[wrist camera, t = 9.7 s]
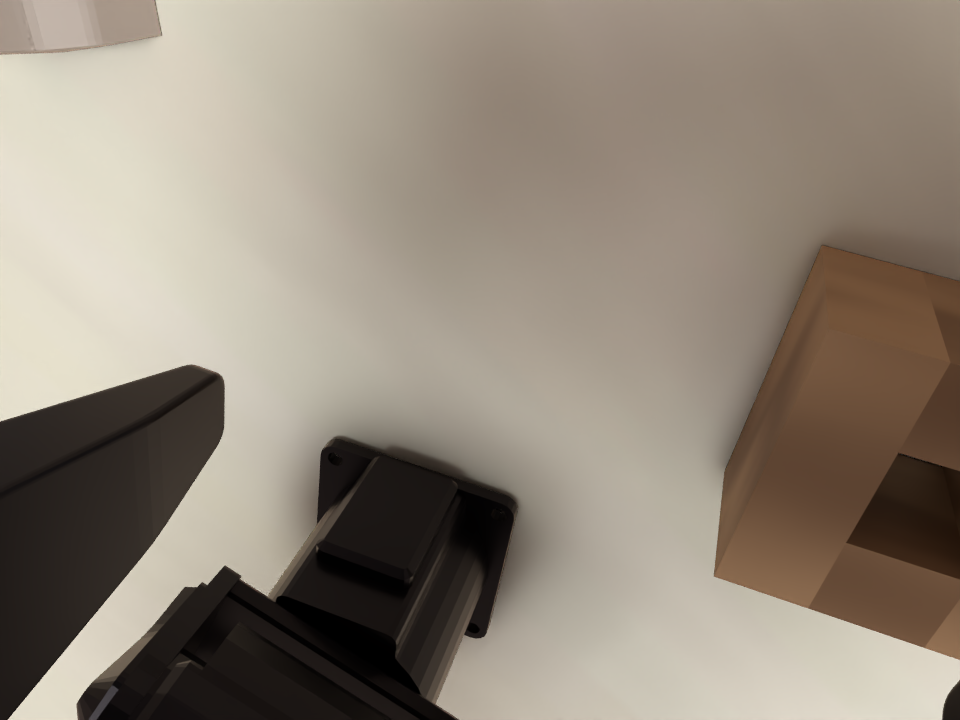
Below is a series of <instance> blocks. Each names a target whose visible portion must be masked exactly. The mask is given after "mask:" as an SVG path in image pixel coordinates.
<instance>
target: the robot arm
mask: <svg viewBox="0 0 960 720" xmlns="http://www.w3.org/2000/svg"><path fill="white" fill-rule="evenodd" d="M224 399H225V385H224V380H223V378H222V376H221V375H220V374H218V373H217V372H214V371H211V370H208V369H205V368H202V367H200V366H197V365H186V366H182V367H179V368H175V369H172V370H169V371H165V372H162V373H159V374H156V375H152V376H149V377H146V378H142V379H139V380H136V381H132V382H129V383H126V384H123V385H119V386H116V387H113V388H109V389H106V390H103V391H100V392H96V393H93V394H90V395H86V396H83V397H80V398H76V399H73V400H70V401H67V402H63V403H60V404H57V405H53V406H50V407H47V408H44V409H40V410H37V411H34V412H30V413H27V414H24V415H20V416H17V417H14V418H11V419H7V420H4V421H1V422H0V720H8V719H9V717H10V716H11V715H12V714H13V712H14V711H15V710H16V709H17V708H18V706H19V705H20V704H21V703H22V702H23V700H24V699H25V698H26V697H27V696H28V694H29V693H30V692H31V691H32V689H33V688H34V687H35V686H36V685H37V683H38V682H39V681H40V680H41V679H42V677H43V676H44V675H45V674H46V673H47V671H48V670H49V669H50V668H51V666H52V665H53V664H54V663H55V662H56V660H57V659H58V658H59V657H60V656H61V654H62V653H63V652H64V651H65V650H66V648H67V647H68V646H69V645H70V643H71V642H72V641H73V640H74V639H75V637H76V636H77V635H78V634H79V633H80V631H81V630H82V629H83V628H84V627H85V625H86V624H87V623H88V622H89V620H90V619H91V618H92V617H93V616H94V614H95V613H96V612H97V611H98V610H99V608H100V607H101V606H102V605H103V604H104V602H105V601H106V600H107V599H108V598H109V596H110V595H111V594H112V593H113V591H114V590H115V589H116V588H117V587H118V585H119V584H120V583H121V582H122V581H123V579H124V578H125V577H126V576H127V575H128V573H129V572H130V571H131V570H132V568H133V567H134V566H135V565H136V564H137V562H138V561H139V560H140V559H141V558H142V556H143V555H144V554H145V552H146V551H147V550H148V549H149V547H150V546H151V545H152V544H153V542H154V541H155V539H156V538H157V537H158V535H159V534H160V532H161V531H162V529H163V528H164V527H165V525H166V524H167V522H168V520H169V519H170V517H171V516H172V514H173V513H174V511H175V510H176V508H177V507H178V505H179V504H180V502H181V501H182V499H183V498H184V496H185V494H186V493H187V491H188V490H189V488H190V487H191V485H192V484H193V482H194V481H195V479H196V478H197V476H198V475H199V473H200V472H201V470H202V468H203V467H204V465H205V464H206V462H207V461H208V459H209V458H210V456H211V455H212V453H213V452H214V450H215V449H216V447H217V445H218V444H219V442H220V439H221V437H222V434H223V430H224ZM335 453H336V454H338V455H339V456H340V457H341V458H340V457H338V456H336V454H335ZM496 509H501V510H502V511H504V512H505V513H501V512H499V511H497V510H496ZM516 516H517V505H516V503H515V502H514V501H513V500H512V499H511V498H510V497H508V496H506V495H503V494H500V493H497V492H494V491H491V490H488V489H485V488H482V487H479V486H476V485H473V484H470V483H468V482H465V481H462V480H459V479H456V478H453V477H450V476H447V475H444V474H441V473H438V472H435V471H432V470H429V469H426V468H423V467H420V466H417V465H414V464H411V463H408V462H405V461H402V460H399V459H396V458H393V457H390V456H387V455H384V454H382V453H379V452H376V451H373V450H370V449H367V448H364V447H361V446H358V445H355V444H352V443H349V442H346V441H343V440H339V439H334V440H331V441H329V442H328V443H327V445H326V446H325V447H324V448H323V450H322V452H321V460H320V479H319V497H318V516H317V526H316V527H315V529H314V530H313V532H312V533H311V534H310V536H309V537H308V539H307V540H306V542H305V543H304V544H303V546H302V547H301V549H300V550H299V552H298V553H297V555H296V556H295V557H294V559H293V560H292V562H291V563H290V565H289V566H288V568H287V569H286V570H285V572H284V573H283V575H282V576H281V578H280V579H279V580H278V582H277V583H276V585H275V586H274V588H273V589H272V591H271V592H270V593H269V595H268V596H266V595H264V594H262V593H261V592H259V591H258V590H256V589H255V588H253V587H251V586H250V585H248V584H247V583H245V582H244V581H242V580H241V579H240V578H241V575H239V574H238V573H236V572H234V571H233V570H231V569H230V568H228V567H227V566H224V567H223V568H222V569H221V570H220V571H219V573H218V574H217V575H216V576H215V577H214V578H213V579H212V581H211V582H210V583H209V584H208V585H206V584H204V583H203V582H202V583H201V584H200V585H199V586H198V587H184V589H183V590H182V591H181V592H180V594H179V595H178V596H177V597H176V598H175V600H174V601H173V602H172V603H171V605H170V606H169V607H168V608H167V610H166V611H165V612H164V613H163V614H162V616H161V617H160V618H159V619H158V620H157V622H156V623H155V624H154V625H153V626H152V627H151V628H150V630H149V631H148V632H147V633H146V634H145V635H144V636H143V637H142V638H141V639H140V640H139V641H138V642H136V643H135V644H134V645H133V646H132V647H131V648H130V649H129V650H128V651H126V652H125V653H124V654H123V655H122V656H121V657H120V658H119V659H118V660H116V661H115V662H114V663H113V664H112V665H111V666H110V667H109V668H108V669H107V670H105V671H104V672H103V673H102V674H101V675H100V676H99V677H98V678H97V679H95V680H94V681H93V682H92V683H91V685H90V686H89V687H88V688H87V689H86V691H85V692H84V693H83V695H82V696H81V698H80V699H79V701H78V703H77V716H78V720H459V719H457V718H456V717H454V716H453V715H451V714H450V713H448V712H446V711H445V710H443V709H442V708H440V707H439V706H437V705H435V704H436V701H437V699H438V697H439V694H440V692H441V689H442V687H443V684H444V682H445V680H446V677H447V675H448V672H449V670H450V667H451V665H452V662H453V660H454V658H455V655H456V653H457V650H458V648H459V645H460V643H461V641H462V638H463V636H464V635H466V636H469V637H472V638H482V637H484V636H485V635H486V633H487V630H488V628H489V625H490V621H491V617H492V613H493V609H494V605H495V601H496V597H497V593H498V589H499V585H500V581H501V577H502V573H503V569H504V565H505V560H506V556H507V552H508V548H509V544H510V540H511V536H512V532H513V528H514V524H515V520H516ZM942 720H960V680H959V682H958V683H957V684H956V685H955V686H954V687H953V689H952V690H951V691H950V693H949V694H948V696H947V698H946V701H945V704H944V708H943V715H942Z"/></svg>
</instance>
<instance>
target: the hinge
mask: <svg viewBox="0 0 960 720" xmlns="http://www.w3.org/2000/svg"><path fill="white" fill-rule="evenodd" d="M156 36H161V30H160V25H159V20H158V15H157V10H156V5H155V0H0V55H2V54H28V53H54V52H68V51H75V50H81V49H88V48H95V47H102V46H108V45H114V44H119V43H124V42H129V41H135V40H140V39H145V38H150V37H156Z"/></svg>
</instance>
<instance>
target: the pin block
mask: <svg viewBox="0 0 960 720" xmlns="http://www.w3.org/2000/svg"><path fill="white" fill-rule="evenodd" d="M898 453H901V454H905V455H908V456H911V457H914V458H918V459H921V460H924V461H928V462H931V463H934V464H938V465H941V466H943V468H942V467H939V466H936V465H932V464H929V463H926V462H923V461H919V460H916V459H913V458H909V457H906V456H903V455H899V454H898ZM714 577H717V578H720V579H723V580H726V581H729V582H732V583H735V584H738V585H741V586H744V587H747V588H750V589H753V590H756V591H759V592H762V593H765V594H767V595H770V596H773V597H776V598H779V599H782V600H785V601H788V602H791V603H794V604H797V605H800V606H803V607H806V608H809V609H812V610H815V611H818V612H821V613H823V614H826V615H829V616H832V617H835V618H838V619H841V620H844V621H847V622H850V623H853V624H856V625H859V626H862V627H865V628H868V629H871V630H874V631H876V632H879V633H882V634H885V635H888V636H891V637H894V638H897V639H900V640H903V641H906V642H909V643H912V644H915V645H918V646H921V647H924V648H927V649H930V650H932V651H935V652H938V653H941V654H944V655H947V656H950V657H953V658H956V659H959V660H960V281H956V280H952V279H948V278H944V277H941V276H937V275H933V274H929V273H925V272H922V271H918V270H914V269H910V268H907V267H903V266H899V265H895V264H891V263H888V262H884V261H880V260H876V259H872V258H869V257H865V256H861V255H857V254H854V253H850V252H846V251H842V250H838V249H835V248H831V247H827V246H823V245H822V246H821V249H820V251H819V253H818V256H817V258H816V260H815V263H814V265H813V267H812V269H811V272H810V274H809V276H808V279H807V281H806V283H805V286H804V288H803V290H802V293H801V295H800V297H799V300H798V302H797V304H796V307H795V309H794V311H793V314H792V316H791V318H790V321H789V323H788V325H787V328H786V330H785V332H784V335H783V337H782V339H781V342H780V344H779V346H778V349H777V351H776V353H775V356H774V358H773V360H772V363H771V365H770V367H769V370H768V372H767V374H766V377H765V379H764V381H763V384H762V386H761V388H760V390H759V393H758V395H757V397H756V400H755V402H754V404H753V407H752V409H751V411H750V414H749V416H748V418H747V421H746V423H745V425H744V428H743V430H742V432H741V435H740V437H739V439H738V442H737V444H736V446H735V449H734V451H733V453H732V456H731V458H730V460H729V463H728V465H727V467H726V470H725V472H724V481H723V491H722V501H721V511H720V521H719V531H718V540H717V550H716V560H715V570H714Z"/></svg>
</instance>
